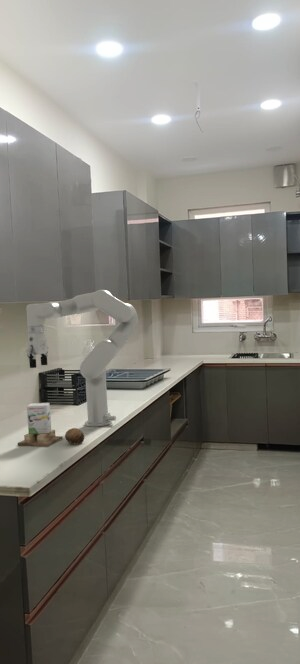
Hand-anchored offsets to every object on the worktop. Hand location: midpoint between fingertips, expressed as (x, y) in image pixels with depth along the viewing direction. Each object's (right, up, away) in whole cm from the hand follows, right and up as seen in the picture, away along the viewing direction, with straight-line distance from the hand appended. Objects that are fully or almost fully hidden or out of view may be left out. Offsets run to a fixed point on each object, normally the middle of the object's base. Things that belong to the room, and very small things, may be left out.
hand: (38, 366), depth 239 cm
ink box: (+7, -26, -29) cm, 39 cm away
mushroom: (+22, -29, -34) cm, 50 cm away
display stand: (+7, -29, -29) cm, 42 cm away
